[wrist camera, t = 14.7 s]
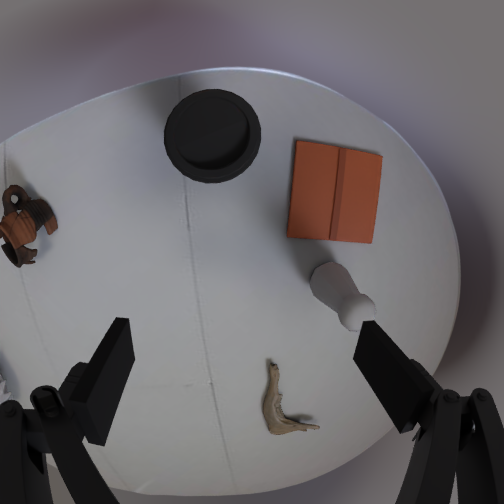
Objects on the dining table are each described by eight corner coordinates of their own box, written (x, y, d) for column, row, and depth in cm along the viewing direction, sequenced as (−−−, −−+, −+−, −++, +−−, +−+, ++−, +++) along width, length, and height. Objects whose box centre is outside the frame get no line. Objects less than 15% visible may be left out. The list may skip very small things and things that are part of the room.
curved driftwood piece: (278, 437, 52) (279, 444, 50) (226, 378, 46) (225, 386, 44) (319, 422, 51) (321, 429, 49) (274, 358, 45) (275, 366, 43)
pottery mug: (69, 243, 37) (31, 276, 31) (42, 242, 41) (9, 269, 34) (41, 169, 31) (-5, 195, 25) (17, 179, 35) (-21, 202, 28)
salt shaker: (341, 254, 41) (385, 287, 29) (344, 289, 43) (384, 331, 31) (303, 262, 41) (335, 301, 29) (308, 298, 43) (338, 346, 30)
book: (295, 140, 37) (297, 140, 36) (380, 156, 38) (383, 155, 37) (286, 236, 40) (287, 237, 39) (369, 242, 41) (372, 244, 41)
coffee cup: (258, 164, 37) (280, 160, 23) (198, 189, 37) (183, 201, 23) (233, 107, 35) (240, 69, 20) (173, 132, 35) (144, 110, 20)
